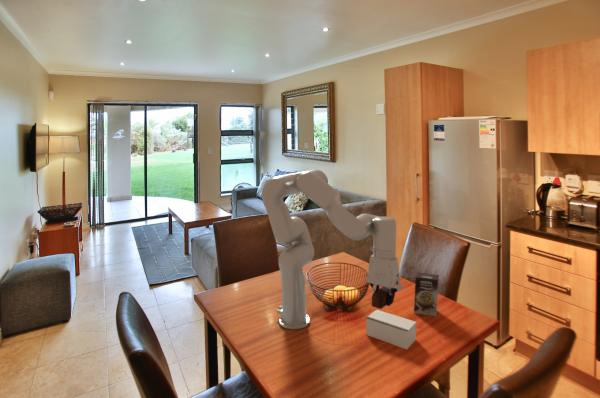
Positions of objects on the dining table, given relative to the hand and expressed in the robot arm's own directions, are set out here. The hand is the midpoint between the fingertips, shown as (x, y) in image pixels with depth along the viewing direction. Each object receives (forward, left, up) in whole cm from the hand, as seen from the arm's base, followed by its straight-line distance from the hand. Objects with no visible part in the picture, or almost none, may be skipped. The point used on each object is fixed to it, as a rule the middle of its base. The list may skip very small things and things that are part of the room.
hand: (383, 302), depth 127 cm
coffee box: (+3, +33, -17) cm, 38 cm away
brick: (0, 0, 0) cm, 0 cm away
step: (0, +6, -16) cm, 18 cm away
